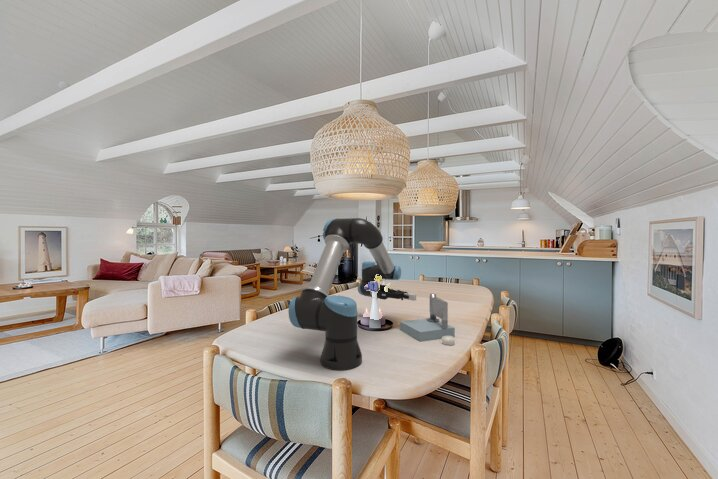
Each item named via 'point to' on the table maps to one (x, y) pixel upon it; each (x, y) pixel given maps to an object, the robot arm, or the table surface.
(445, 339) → the cover cap
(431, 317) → the grey upright panel
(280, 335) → the table surface
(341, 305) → the robot arm
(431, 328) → the blue-grey square base
